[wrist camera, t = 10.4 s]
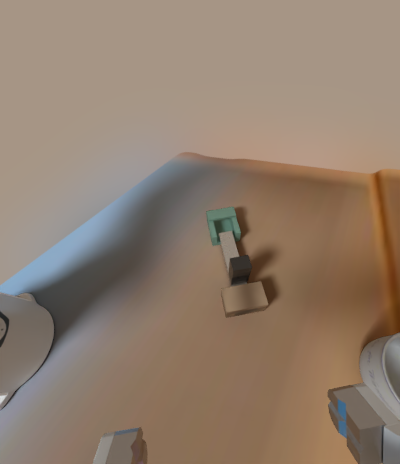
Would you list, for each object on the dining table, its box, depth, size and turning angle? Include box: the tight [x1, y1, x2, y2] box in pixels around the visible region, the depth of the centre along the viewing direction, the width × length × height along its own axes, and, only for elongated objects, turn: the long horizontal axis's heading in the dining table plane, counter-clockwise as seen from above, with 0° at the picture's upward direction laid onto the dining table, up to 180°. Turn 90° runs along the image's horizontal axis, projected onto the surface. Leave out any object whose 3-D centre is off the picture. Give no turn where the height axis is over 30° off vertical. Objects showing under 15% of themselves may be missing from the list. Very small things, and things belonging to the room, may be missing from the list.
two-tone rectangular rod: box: [219, 231, 252, 287], centre depth 40 cm, size 3×15×9 cm, turn 9°
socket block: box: [221, 281, 268, 318], centre depth 38 cm, size 7×4×4 cm, turn 99°
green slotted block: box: [206, 207, 241, 246], centre depth 47 cm, size 6×7×4 cm
